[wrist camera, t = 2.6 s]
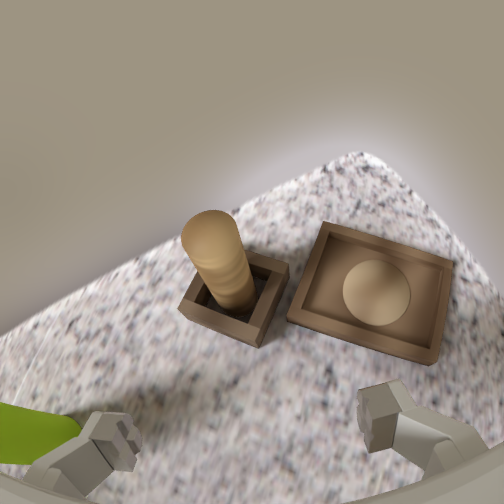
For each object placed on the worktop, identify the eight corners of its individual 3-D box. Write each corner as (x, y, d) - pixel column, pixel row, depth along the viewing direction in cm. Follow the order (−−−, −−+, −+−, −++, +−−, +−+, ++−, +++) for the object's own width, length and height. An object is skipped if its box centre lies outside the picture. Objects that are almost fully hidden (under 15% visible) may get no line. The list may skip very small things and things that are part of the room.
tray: (446, 270, 30) (453, 261, 28) (428, 366, 25) (436, 362, 24) (322, 231, 35) (323, 220, 33) (287, 321, 30) (286, 314, 28)
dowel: (264, 288, 32) (246, 217, 22) (248, 322, 31) (221, 266, 20) (229, 275, 33) (198, 204, 23) (212, 309, 32) (171, 248, 22)
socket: (289, 277, 32) (288, 263, 30) (258, 348, 29) (254, 341, 26) (220, 254, 35) (214, 240, 32) (187, 318, 32) (177, 308, 29)
